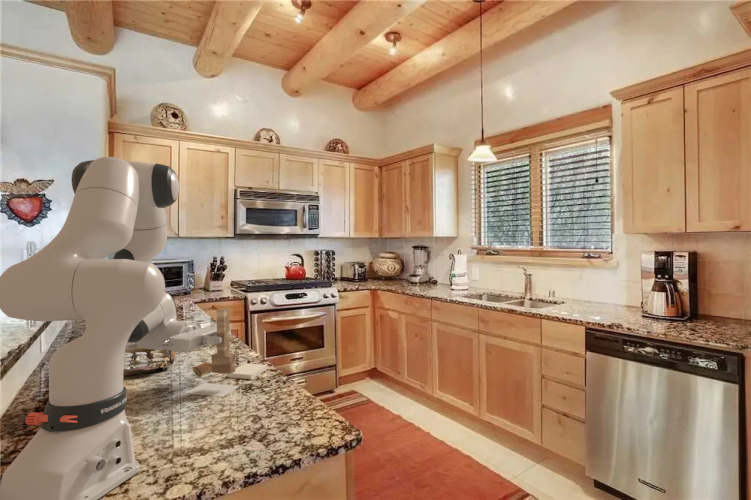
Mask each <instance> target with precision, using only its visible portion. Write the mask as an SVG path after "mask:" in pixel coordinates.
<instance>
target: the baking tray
mask: <svg viewBox="0 0 751 500" xmlns="http://www.w3.org/2000/svg"><path fill="white" fill-rule="evenodd" d="M148 356H150V357H148ZM176 357H177V354H176V351H171V350H168V349H165V350H154V349H147V348H143V347H140V346H138V345H136V344H135V343H132V344H129V345H126V349H125V356H124V374H123V377H126V376H127V377H128V376H132V375H133V374H134V375H140V374H139V373H141V374H147V372H148V373H152V372H153V373H154V372H155V371H156V370H158V369H159V368H162V369H161V371H165V370H166V368H168V367H171V366H173V365H174V362H175V359H176ZM133 358H134V359H135V360H134V361H133V367H131V364H132V363H131V362H132V361H131V360H132V359H133ZM147 358H149V359H147ZM149 360H150V361H149ZM148 362H149V363H148ZM150 363H151V364H150ZM148 364H149V365H148ZM134 375H133V376H134Z"/></svg>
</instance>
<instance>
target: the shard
mask: <svg viewBox="0 0 751 500" xmlns="http://www.w3.org/2000/svg"><path fill="white" fill-rule="evenodd" d="M192 369H193V370H194V371H195V372H196V374H198V375H199V376H200V377H203V376H205V375H206V374H208V373H210V372H212V362H203V363H201V364H198V365H196V366H194V367H193V368H192Z"/></svg>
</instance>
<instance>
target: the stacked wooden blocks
mask: <svg viewBox="0 0 751 500" xmlns="http://www.w3.org/2000/svg"><path fill="white" fill-rule="evenodd" d="M216 323H217V336H223V342H222V343H219V344H218V343H216V352H215V353H214V354H213V353H212V354H211V363H212V371H211V373H213V374H226V375H228V374H231V373H233V372H235V369H236V354H235V353H231V352H230V348H231V347H230V344H231V343H230V340H229V325H230V308H219V309H216Z"/></svg>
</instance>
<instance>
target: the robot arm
mask: <svg viewBox="0 0 751 500" xmlns="http://www.w3.org/2000/svg"><path fill="white" fill-rule="evenodd" d="M71 187H72V190H73V193H74V197H73V199H72V203H71V206H70V209H69V212H68V214H67V216H66V218H65V222H64V224H63V226H62V228H61V229H60V231H59V232H58V233H57V234H56V235H55V236H54V238H53V239H52V240H51V241H50V242H49V243H48V244H47V245H45V246H44V247H43V248H41V249H40V250H39V251H37V252H36V253H35V254H33V255H32V256H29V257H28V258H26V259H24V260H22V261H21V262H17V263H15V264H13V265H11V266H9V267H8V268H6V269H5V270H4V271H3V272H2V273H1V274H0V311H1V312H2V313H3V314H4V315H5V316H6V317H8V318H11V319H17V320H18V319H19V320H25V321H33V322H34V321H35V322H61V321H62V322H63V321H64V322H65V321H85V330H84V333H83V334H82V335H81V336H79V337H77V338H75V339H73V340H71V341H69V342H67V343H66V344H64V345H61V346H60V347H59V348H57V350H56V351H54V353H53V354H52V356H51V357H50V359H49V362H48V396H49V397H48V398H49V399H48V400H47V402H46V404H45V407H44V409H43V411H42V412H41V411H40V412H35V411H32V412H29V413H28V414H27V415H26V417H25V421H24V422H25V424H26V425H27V426H34V425H35V426H39V429H38V431H37V432H36V433H35V435H34V436H33V437H32V438H31V440H30V441H29V442H28V443H27V444H26V445H25V447H24V448H23V449H22V450H21V452H20V453H18V455H17V456H16V457H15V459H14V460H13V461H12V462H11V464H10V465H9V466H8V467H7V468H6V469H5V470H4V472H3V474H2V475H1V476H2V477H1V480H0V500H99V499H100V498H101V497H103V496H105V495H106V494H108V493H109V492H111V491H112V490H113V489H115V488H117V487H118V486H120V485H121V484H122V483H124V482H126V481H127V480H129V479H130V478H131V477H133V476H135V475H136V474H137V473H139V472H140V470H141V465H140V463H139V461H137V460H136V456H135V448H134V441H133V433H132V427H131V423H130V422H129V420H128V417H127V415H126V408H127V406H128V404H127V400H128V394H127V388H126V386H124V376H123V374H124V356H125V349H126V345H127V342H134V343H135V344H136V345H138V346H140V347H143V348H147V349H154V350H165V349H168V350H171V351H175V352H178V353H188V352H193V351H195V350H197V349H200V348H202V347H205V346H208V345H212V344H217V343H218V344H219V343H222V342H223V336H217V322H209V320H207V319H206V320H201V319H200V320H177V319H178V311H177V304H176V300H175V299H174V297H173V296H172V295H171V294H170V293H169V292H167V291H166V283H165V277H164V276H163V273H162V271H161V270H160V268H158V267H157V265H155V264H154V263H152V262H151V261H152V260H153V259H154V258H155V257H157V255H159V254H160V253H161V252H162V250H164V248H165V247H166V245H167V241H168V224H167V214H166V210H165V209H166V208H167V207H171V206H172V205H173V204H175V202H176V201H177V199H178V196H179V193H180V182H179V177H178V176H177V173H176V171H174V169H173V168H172V167H171V166H169V165H165V164H160V163H155V164H153V163H148V162H141V161H139V162H138V161H128V160H125V159H122V158H119V157H115V156H102V157H98V158H96V159H91V160H84V161H81V162H80V163H78V164H77V165H76V166H75V167H74V168H73V170H72V173H71ZM113 254H114V256H113V258H112V259H111V258H106V257H108V256H110V255H113ZM105 258H106V259H105ZM230 340H232V327H231V325H230V324H229V341H230Z"/></svg>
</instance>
